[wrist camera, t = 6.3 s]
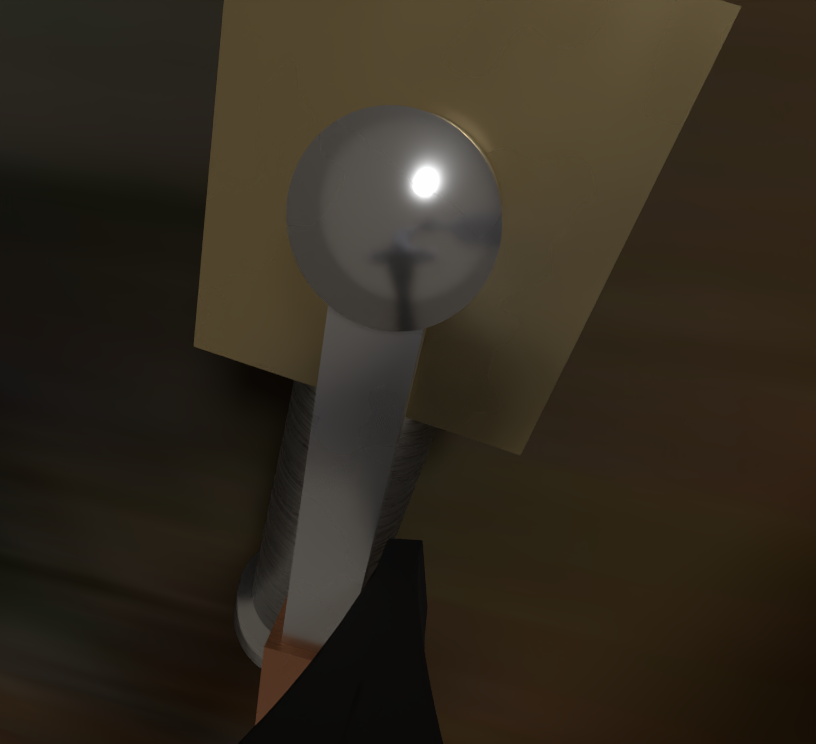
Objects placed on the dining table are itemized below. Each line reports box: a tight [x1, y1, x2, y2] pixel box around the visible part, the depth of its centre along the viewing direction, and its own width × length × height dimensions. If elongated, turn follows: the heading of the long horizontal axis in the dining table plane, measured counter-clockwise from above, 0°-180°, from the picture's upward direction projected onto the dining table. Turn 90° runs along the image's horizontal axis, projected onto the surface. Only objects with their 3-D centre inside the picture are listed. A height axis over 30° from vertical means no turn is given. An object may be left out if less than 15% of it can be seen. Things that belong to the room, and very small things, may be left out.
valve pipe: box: [194, 0, 741, 669], centre depth 10 cm, size 6×26×5 cm, turn 164°
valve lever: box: [255, 105, 502, 725], centre depth 9 cm, size 14×3×1 cm, turn 168°
